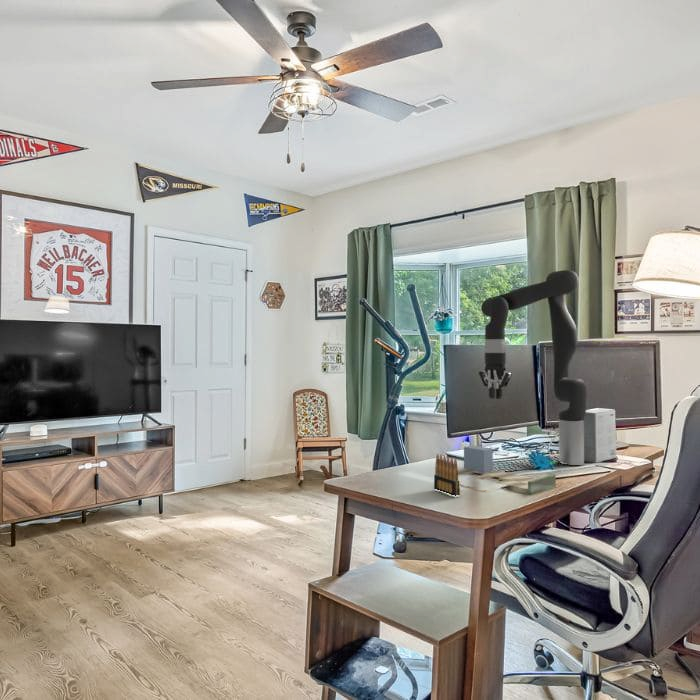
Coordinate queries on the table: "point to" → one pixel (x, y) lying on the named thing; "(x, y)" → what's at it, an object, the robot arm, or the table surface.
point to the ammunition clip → (446, 476)
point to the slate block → (478, 459)
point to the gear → (541, 461)
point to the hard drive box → (599, 435)
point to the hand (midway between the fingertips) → (495, 398)
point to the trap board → (518, 481)
